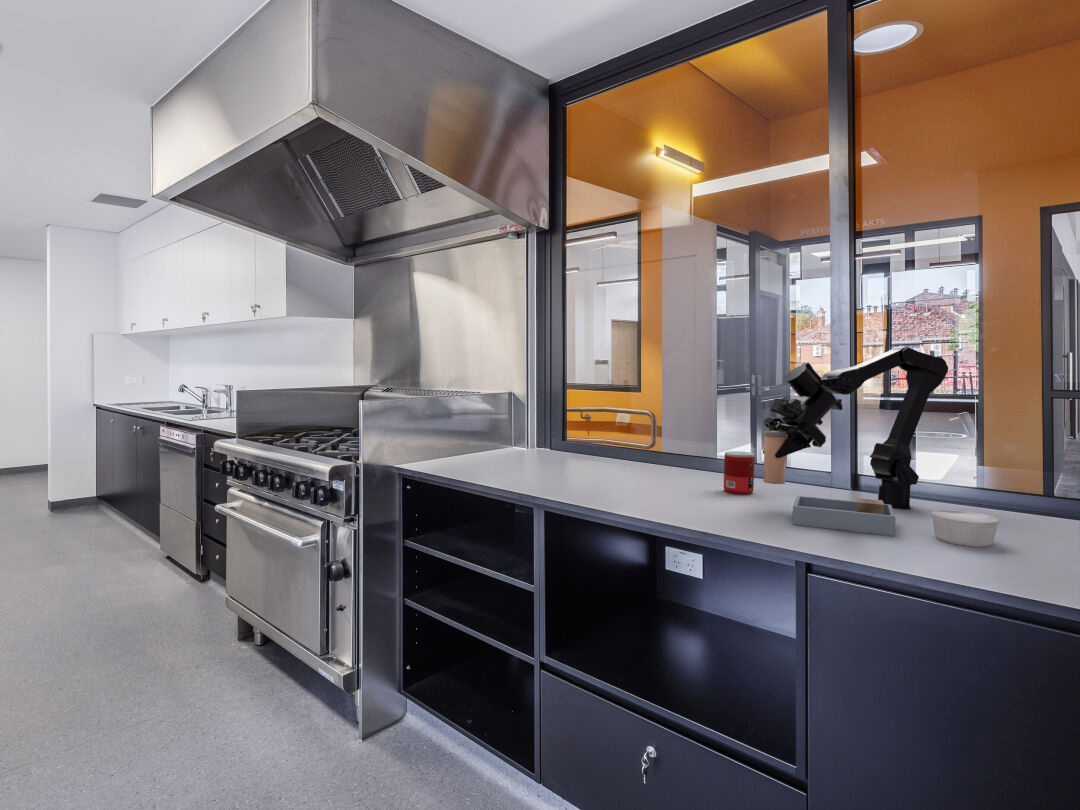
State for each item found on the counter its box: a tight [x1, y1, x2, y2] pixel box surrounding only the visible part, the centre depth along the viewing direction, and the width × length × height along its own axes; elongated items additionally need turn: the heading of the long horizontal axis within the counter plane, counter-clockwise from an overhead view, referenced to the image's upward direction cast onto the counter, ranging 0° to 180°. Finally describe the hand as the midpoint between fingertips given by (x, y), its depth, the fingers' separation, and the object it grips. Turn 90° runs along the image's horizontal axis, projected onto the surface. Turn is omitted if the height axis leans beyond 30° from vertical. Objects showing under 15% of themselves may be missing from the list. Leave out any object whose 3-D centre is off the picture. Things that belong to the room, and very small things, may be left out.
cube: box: [856, 497, 884, 515], centre depth 130 cm, size 5×5×5 cm
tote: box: [791, 495, 897, 537], centre depth 133 cm, size 20×13×4 cm, turn 63°
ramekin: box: [931, 509, 1000, 548], centre depth 120 cm, size 11×11×5 cm
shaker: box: [762, 429, 787, 485], centre depth 145 cm, size 5×5×12 cm
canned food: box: [723, 450, 756, 495], centre depth 167 cm, size 8×8×11 cm
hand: (769, 455), depth 145 cm, fingers closed on shaker, 5 cm apart
